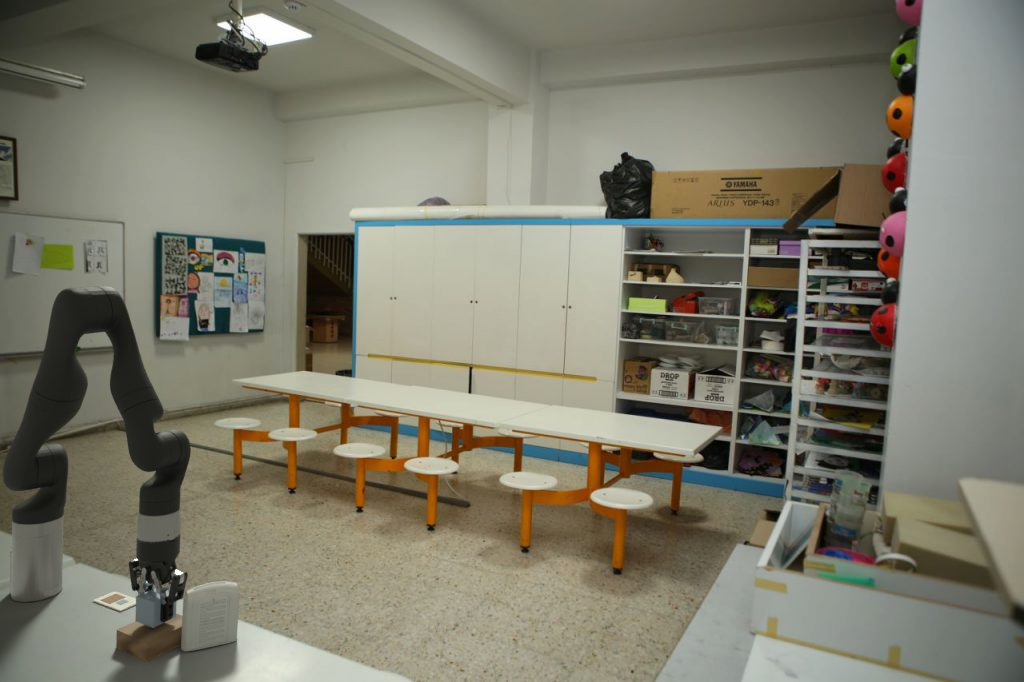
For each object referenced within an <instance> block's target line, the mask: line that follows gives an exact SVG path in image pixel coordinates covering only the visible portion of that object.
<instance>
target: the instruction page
mask: <svg viewBox="0 0 1024 682" xmlns="http://www.w3.org/2000/svg"><path fill="white" fill-rule="evenodd" d="M92 602H93V603H96V604H99V605H101V606H104V607H106V608H109V609H113V610H115V611H117V612H120V613H121V612H124V611H126V610H127V609H130V608H132V607H134V606H135V607H136V597H132V596H129V595H126V594H124V593H121V592H119V591H115V590H114V591H112V592H110V593H107V594H105V595H101V596H99V597H97V598H95V599H92Z"/></svg>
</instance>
